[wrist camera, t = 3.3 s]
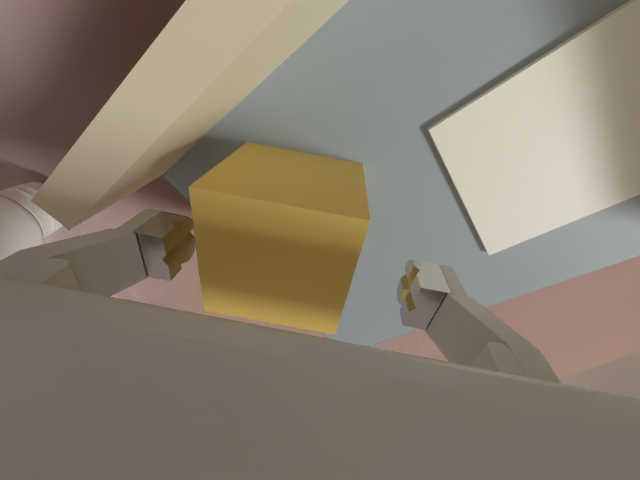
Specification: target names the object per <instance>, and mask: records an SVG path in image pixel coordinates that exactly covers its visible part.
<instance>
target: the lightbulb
mask: <svg viewBox="0 0 640 480" xmlns="http://www.w3.org/2000/svg"><path fill="white" fill-rule="evenodd" d="M42 185H43V183H39V182H29V183H25V184H22V185H17V186H14V187H12V188H7V189H4V190H2V191H0V261H1V260H2V259H4V258H6V257H8V256H10V255H12V254H14V253H15V252H17V251H19V250H22V249H26V248H30V247H35V246H39V245H40V244H41V243H42V240H43V238H44V237H46V236H48V235H50V234H51V233H52V232H54V231H56V230H58V229H59V228H60V227H62V226H63V225H62V224H61V223H59V222H58V221H57V220H55V219H54V218H53V217H51V216H50V215H49V214H47V213H46V212H45V211H43V210H42V209H41V208H39V207H38V206H37V205H35V204H34V203H33V202H31V199H32V198H33V197H34V195H35V194H36V193H37V192H38V190H39V189H40V188H41V186H42Z"/></svg>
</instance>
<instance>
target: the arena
mask: <svg viewBox="0 0 640 480" xmlns="http://www.w3.org/2000/svg"><path fill="white" fill-rule="evenodd" d="M247 142H251V143H256V144H261V145H266V146H272V147H277V148H282V149H287V150H293V151H298V152H303V153H309V154H314V155H319V156H324V157H330V158H335V159H340V160H345V161H351V162H356V163H361V164H363V169H364V177H365V184H366V191H367V199H368V206H369V214H370V224H369V227H368V230H367V233H366V237H365V240H364V243H363V246H362V250H361V253H360V256H359V259H358V263H357V266H356V269H355V272H354V276H353V279H352V282H351V285H350V289H349V292H348V295H347V298H346V302H345V305H344V308H343V311H342V315H341V318H340V321H339V324H338V328H337V331H336V334H335V335H334V334H329V333H323V332H322V333H323V334H324V335H325V336H326V337H327V338H328V339H332V340H337V341H342V342H347V343H353V344H358V345H363V346H368V347H369V346H372V345H375V344H378V343H381V342H384V341H387V340H390V339H393V338H396V337H399V336H402V335H405V334H408V333H410V332H413V331H416V330H419V329H417V328H412V327H408V326H403V325H402V321H401V316H400V308H401V305H400V303H399V302H398V300H397V287H398V283H399V280H400V278H401V277H402V276H403V275H405V274H406V272H405V266H406V264H407V262H408V261H409V260H415V261H421V262H427V263H433V264H440V265H446V266H451V267H452V268H453V269H454V271H455V273H456V275H457V277H458V279H459V281H460V282H461V284H462V286H463V288H464V290H465V292H466V294H467V296H468V297H470V298H473V299H474V300H476V301H477V302H478V303H479V304H481V305H482V306H483V307H488V306H491V305H494V304H497V303H500V302H503V301H506V300H509V299H512V298H515V297H518V296H521V295H524V294H527V293H530V292H533V291H536V290H539V289H542V288H545V287H547V286H550V285H553V284H556V283H559V282H562V281H565V280H568V279H571V278H574V277H577V276H580V275H583V274H586V273H589V272H592V271H595V270H598V269H601V268H604V267H607V266H610V265H613V264H616V263H619V262H622V261H625V260H628V259H631V258H634V257H637V256H640V0H186V1H185V2H184V3H183V4H182V6H181V7H180V8H179V10H178V11H177V12H176V13H175V15H174V16H173V17H172V19H171V20H170V21H169V22H168V24H167V25H166V26H165V28H164V29H163V30H162V31H161V33H160V34H159V35H158V37H157V38H156V39H155V41H154V42H153V43H152V44H151V46H150V47H149V48H148V50H147V51H146V52H145V53H144V55H143V56H142V57H141V59H140V60H139V61H138V62H137V64H136V65H135V66H134V68H133V69H132V70H131V72H130V73H129V74H128V75H127V77H126V78H125V79H124V81H123V82H122V83H121V84H120V86H119V87H118V88H117V90H116V91H115V92H114V93H113V95H112V96H111V97H110V99H109V100H108V101H107V102H106V104H105V105H104V106H103V108H102V109H101V110H100V112H99V113H98V114H97V115H96V117H95V118H94V119H93V121H92V122H91V123H90V124H89V126H88V127H87V128H86V130H85V131H84V132H83V133H82V135H81V136H80V137H79V139H78V140H77V141H76V143H75V144H74V145H73V146H72V148H71V149H70V150H69V152H68V153H67V154H66V155H65V157H64V158H63V159H62V161H61V162H60V163H59V164H58V166H57V167H56V168H55V170H54V171H53V172H52V173H51V175H50V176H49V177H48V179H47V180H46V181H45V183H44V184H43V185H42V186H41V188H40V189H39V190H38V192H37V193H36V194H35V195H34V197H33V198H32V199H31V202H33V203H34V204H35V205H37V206H38V207H39V208H41V209H42V210H43V211H45V212H46V213H47V214H49V215H50V216H51V217H53V218H54V219H55V220H57V221H58V222H59V223H61V224H62V225H63V226H65V227H66V228H67V229H69V230H70V229H71V228H73V227H75V226H77V225H78V224H80V223H82V222H83V221H85V220H87V219H88V218H90V217H92V216H94V215H95V214H97V213H99V212H100V211H102V210H104V209H105V208H107V207H109V206H110V205H112V204H114V203H116V202H117V201H119V200H121V199H122V198H124V197H126V196H127V195H129V194H131V193H133V192H134V191H136V190H138V189H139V188H141V187H143V186H144V185H146V184H148V183H150V182H151V181H153V180H155V179H156V178H158V177H160V176H161V175H162V176H163V177H164V178H165V179H166V180H167V181H168V182H169V183H170V184H171V185H172V186H173V187H174V188H175V189H176V190H177V191H178V192H180V193H181V194H182V195H183V196H184V197H185V198H186V199H187V200H188V201H189V202H190V194H189V186H190V185H191V184H193V183H194V182H195V181H197V180H198V179H199V178H201V177H202V176H203V175H205V174H206V173H207V172H208V171H210V170H211V169H212V168H214V167H215V166H216V165H218V164H219V163H220V162H222V161H223V160H224V159H226V158H227V157H228V156H230V155H231V154H232V153H234V152H235V151H236V150H238V149H239V148H240V147H241V146H243V145H244V144H245V143H247ZM190 203H191V202H190Z"/></svg>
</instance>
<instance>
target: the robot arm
mask: <svg viewBox="0 0 640 480" xmlns="http://www.w3.org/2000/svg"><path fill="white" fill-rule="evenodd" d="M193 228H194V227H193V221H192V219H191V218H190V217H187V216H182V215H178V214H173V213H168V212H163V211H159V210H153V209H146V210H144V211H143V212H141V213H140V214H138V215H137V216H135V217H134V218H132V219H131V220H129V221H127V222H126V223H124V224H123V225H121V226H120V227H118V228H117V229H107V230H103V231H99V232H94V233H90V234H86V235H82V236H77V237H73V238H69V239H65V240H60V241H56V242H52V243H48V244H43V245H39V246H35V247H30V248H26V249H22V250H19V251H17V252H15V253H14V254H12V255H10V256H8V257H6V258H4V259H2V260H1V261H0V480H640V399H638V398H633V397H627V396H622V395H617V394H611V393H607V392H601V391H596V390H591V389H586V388H581V387H576V386H570V385H565V384H561V382H560V381H559V379H558V378H557V376H556V375H555V373H554V372H553V370H552V368H551V367H550V365H549V364H548V362H547V361H546V359H545V358H544V356H543V355H542V353H541V352H540V350H538V349H537V348H536V347H535V346H533V345H532V344H531V343H529V342H528V341H527V340H526V339H524V338H523V337H522V336H520V335H519V334H518V333H517V332H515V331H514V330H513V329H511V328H510V327H509V326H508V325H506V324H505V323H504V322H503V321H501V320H500V319H499V318H497V317H496V316H495V315H494V314H492V313H491V312H490V311H488V310H487V309H486V308H485V307H483V306H482V305H481V304H479V303H478V302H477V301H476V300H474V299H473V298H470V297H468V296H467V294H466V292H465V290H464V288H463V286H462V284H461V282H460V281H459V279H458V277H457V275H456V273H455V271H454V269H453V268H452V267H451V266H446V265H440V264H433V263H427V262H421V261H415V260H409V261H408V262H407V264H406V266H405V272H406V274H405V275H403V276H402V277H401V278H400V280H399V283H398V287H397V300H398V302H399V303H400V305H401V308H400V316H401V321H402V325H403V326H408V327H412V328H417V329H422V330H426V333H427V334H428V335H429V336H430V338H431V339H432V340H433V342H434V343H435V344H436V345H437V347H438V348H439V349H440V351H441V352H442V353H443V354H444V356H445V357H446V358H447V360H448V361H449V362H446V361H441V360H436V359H430V358H425V357H420V356H414V355H409V354H404V353H399V352H394V351H389V350H383V349H378V348H373V347H368V346H363V345H358V344H353V343H347V342H342V341H337V340H332V339H327V338H322V337H317V336H311V335H306V334H301V333H296V332H291V331H286V330H280V329H275V328H270V327H265V326H259V325H254V324H249V323H244V322H239V321H233V320H228V319H223V318H218V317H213V316H207V315H202V314H197V313H192V312H187V311H181V310H176V309H171V308H166V307H161V306H156V305H150V304H145V303H140V302H135V301H130V300H125V299H119V298H114V297H110V296H112V295H114V294H116V293H118V292H120V291H122V290H124V289H126V288H128V287H130V286H132V285H134V284H136V283H138V282H140V281H142V280H144V279H146V278H147V277H152V278H158V279H164V280H170V281H171V280H172V279H173V278H174V277H175V276H176V274H177V273H178V272H179V271H180V270H181V264H182V263H185V262H187V261H189V259H190V258H191V257H192V255H193V253H194V250H195V237H194V236H193V235H192V234H191V230H192V229H193Z"/></svg>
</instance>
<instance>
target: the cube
mask: <svg viewBox="0 0 640 480" xmlns="http://www.w3.org/2000/svg"><path fill="white" fill-rule="evenodd" d="M189 194H190V202H191V210H192V218H193V226H194V235H195V243H196V251H197V259H198V267H199V275H200V283H201V291H202V300H203V308H204V311H208V312H214V313H219V314H225V315H230V316H235V317H241V318H246V319H252V320H257V321H263V322H268V323H274V324H279V325H285V326H290V327H296V328H301V329H307V330H312V331H318V332H323V333H329V334H334V335H335V334H336V331H337V328H338V324H339V321H340V318H341V315H342V311H343V308H344V305H345V302H346V298H347V295H348V292H349V289H350V285H351V282H352V279H353V276H354V272H355V269H356V266H357V263H358V259H359V256H360V253H361V250H362V246H363V243H364V240H365V237H366V233H367V230H368V227H369V224H370V214H369V206H368V199H367V191H366V184H365V177H364V169H363V164H361V163H356V162H351V161H345V160H340V159H335V158H330V157H324V156H319V155H314V154H309V153H303V152H298V151H293V150H287V149H282V148H277V147H272V146H266V145H261V144H256V143H251V142H247V143H245V144H244V145H243V146H241V147H240V148H239V149H238V150H236V151H235V152H234V153H232V154H231V155H230V156H228V157H227V158H226V159H224V160H223V161H222V162H220V163H219V164H218V165H216V166H215V167H214V168H212V169H211V170H210V171H208V172H207V173H206V174H205V175H203V176H202V177H201V178H199V179H198V180H197V181H195V182H194V183H193V184H191V185H190V186H189Z"/></svg>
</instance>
